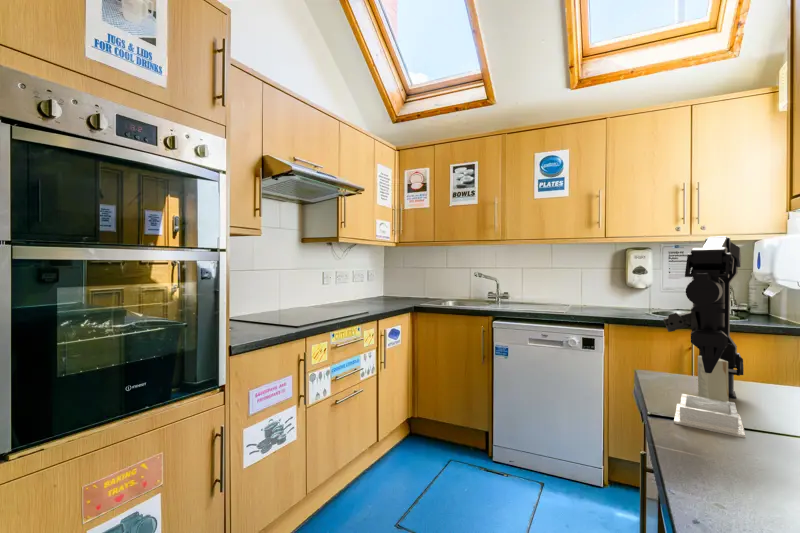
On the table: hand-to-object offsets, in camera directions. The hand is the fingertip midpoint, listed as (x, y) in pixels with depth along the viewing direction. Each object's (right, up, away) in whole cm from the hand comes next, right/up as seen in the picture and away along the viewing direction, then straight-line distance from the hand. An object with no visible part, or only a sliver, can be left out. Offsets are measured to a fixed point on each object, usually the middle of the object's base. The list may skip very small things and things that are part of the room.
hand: (707, 370), depth 89 cm
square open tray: (0, -12, 0) cm, 12 cm away
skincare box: (+8, -12, +9) cm, 17 cm away
